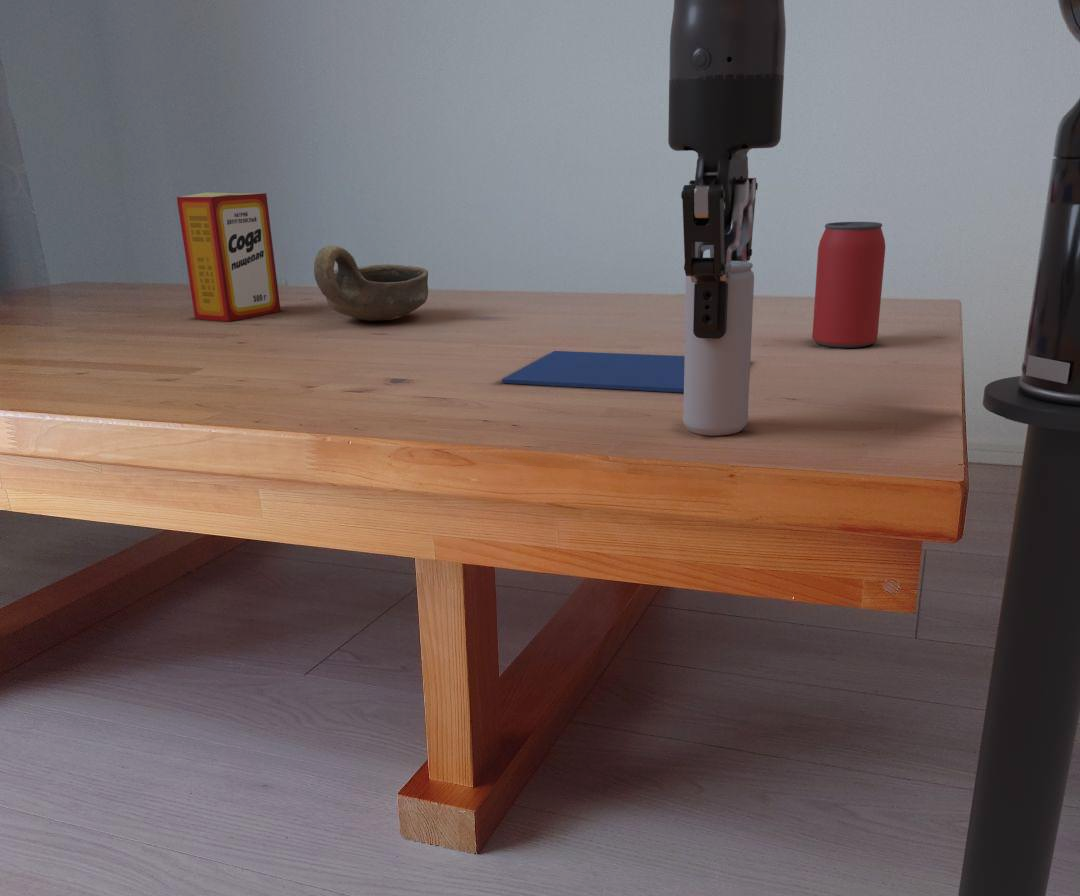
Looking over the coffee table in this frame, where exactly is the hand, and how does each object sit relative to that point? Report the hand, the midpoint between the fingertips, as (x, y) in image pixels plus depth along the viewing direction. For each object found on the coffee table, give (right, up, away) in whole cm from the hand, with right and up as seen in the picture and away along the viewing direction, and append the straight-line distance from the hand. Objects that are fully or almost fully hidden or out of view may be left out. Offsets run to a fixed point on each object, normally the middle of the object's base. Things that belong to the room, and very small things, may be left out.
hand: (717, 329), depth 73 cm
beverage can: (0, -7, +3) cm, 8 cm away
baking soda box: (-54, +16, +66) cm, 87 cm away
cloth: (-5, +1, +22) cm, 23 cm away
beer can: (+19, +5, +33) cm, 38 cm away
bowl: (-35, +13, +56) cm, 67 cm away
